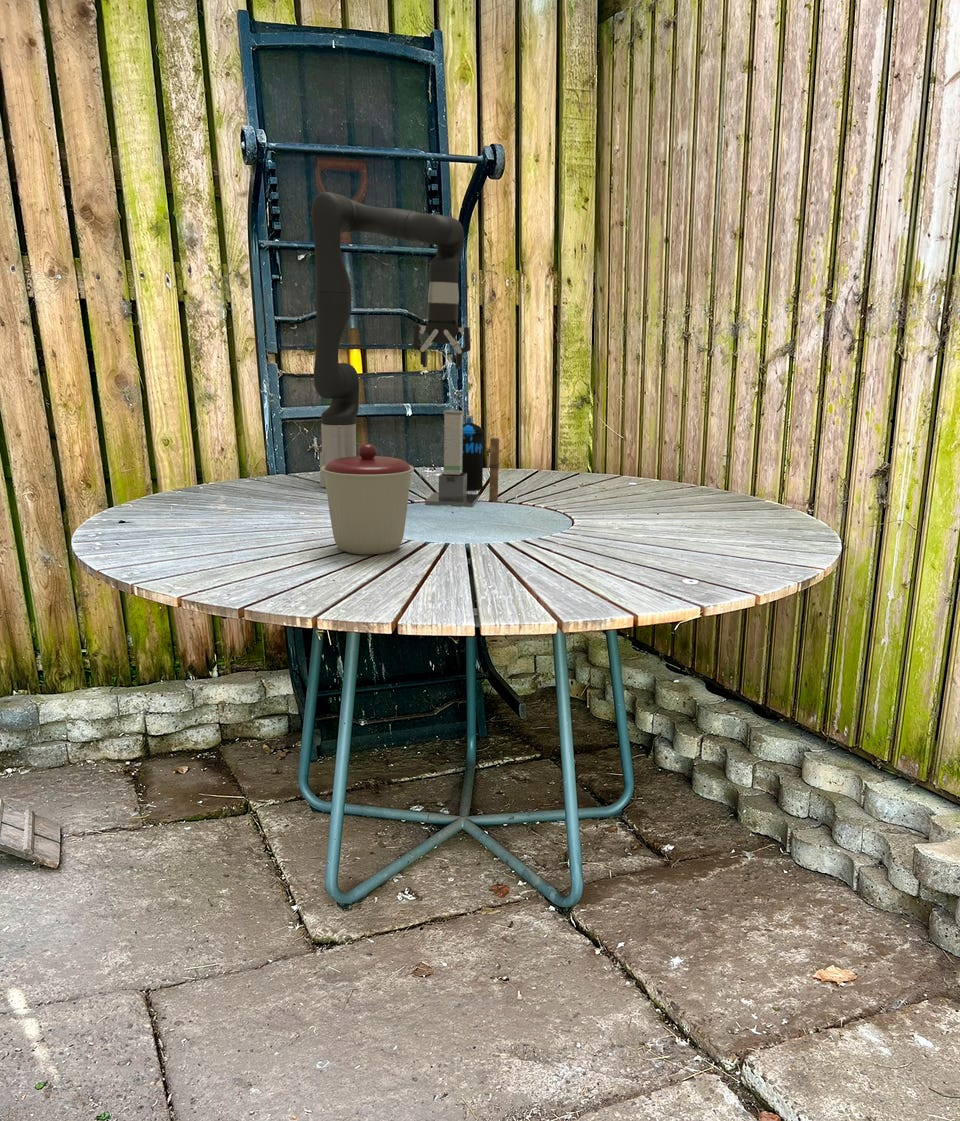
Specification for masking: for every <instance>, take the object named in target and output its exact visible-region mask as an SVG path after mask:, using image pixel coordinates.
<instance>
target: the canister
mask: <svg viewBox="0 0 960 1121" xmlns="http://www.w3.org/2000/svg"><path fill="white" fill-rule="evenodd" d="M357 452H358V455H356V456H352V457H343V458H338V459H334V460H332V461H329V462H328V463H327V464H326V465H324V466H322V467H321V471H322V472H323V473H324V474H325V482H326V487H325V489H326V496H327V497H326V498H327V504H328V512H329V518H330V524H331V531H332V536H333V539H334V542H335V544H336V546H337V547H338V548H339V549H340V550H341V551H343V552H346V553H350V554H354V555H368V556H369V555H380V554H382V555H383V554H386V553H390V552H392V551H395V550H397V549H398V548H399V547H400V546H401V544H402V543H403V539H404V534H405V528H406V527H405V526H406V520H407V513H408V512H407V511H408V504H409V503H408V502H409V496H410V495H409V494H410V493H409V492H410V484H411V483H410V482H411V476H412V473H413V472H414V471H415V468H414V466H413V465H411V464H409V463H408V462H407V461H405V460H403V459H400V458H395V457H389V456H380V455H377V448H376V446H375V445H374V444H372V443H363V444H361V445H360V446H359V447H358V451H357Z"/></svg>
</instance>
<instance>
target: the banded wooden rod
mask: <svg viewBox="0 0 960 1121" xmlns="http://www.w3.org/2000/svg"><path fill="white" fill-rule="evenodd" d="M489 440H490V442H489V443H490V445H489V448H490V449H489V451H490V452H489V453H490V455H489V489H488V490H489V492H488V494H489V496H488V497H489V498H488V501H489V502H498V499H499V468H500V467H499V466H500V460H499V459H500V438H499V437H491V438H490V439H489Z"/></svg>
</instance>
